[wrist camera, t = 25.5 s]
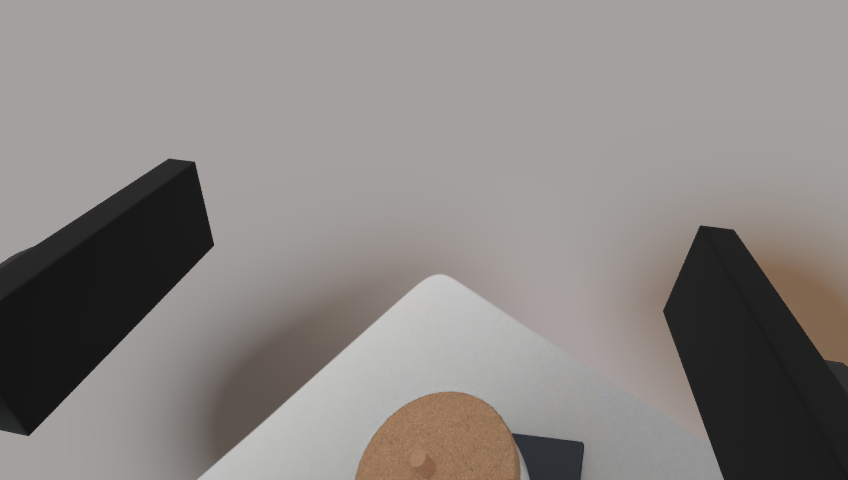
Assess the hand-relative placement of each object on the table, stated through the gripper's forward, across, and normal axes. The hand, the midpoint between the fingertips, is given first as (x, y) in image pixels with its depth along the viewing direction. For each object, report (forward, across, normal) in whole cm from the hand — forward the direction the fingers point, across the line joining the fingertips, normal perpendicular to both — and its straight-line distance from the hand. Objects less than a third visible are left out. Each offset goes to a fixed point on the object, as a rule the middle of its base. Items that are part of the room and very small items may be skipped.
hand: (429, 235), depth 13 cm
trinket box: (+7, +4, -27) cm, 29 cm away
